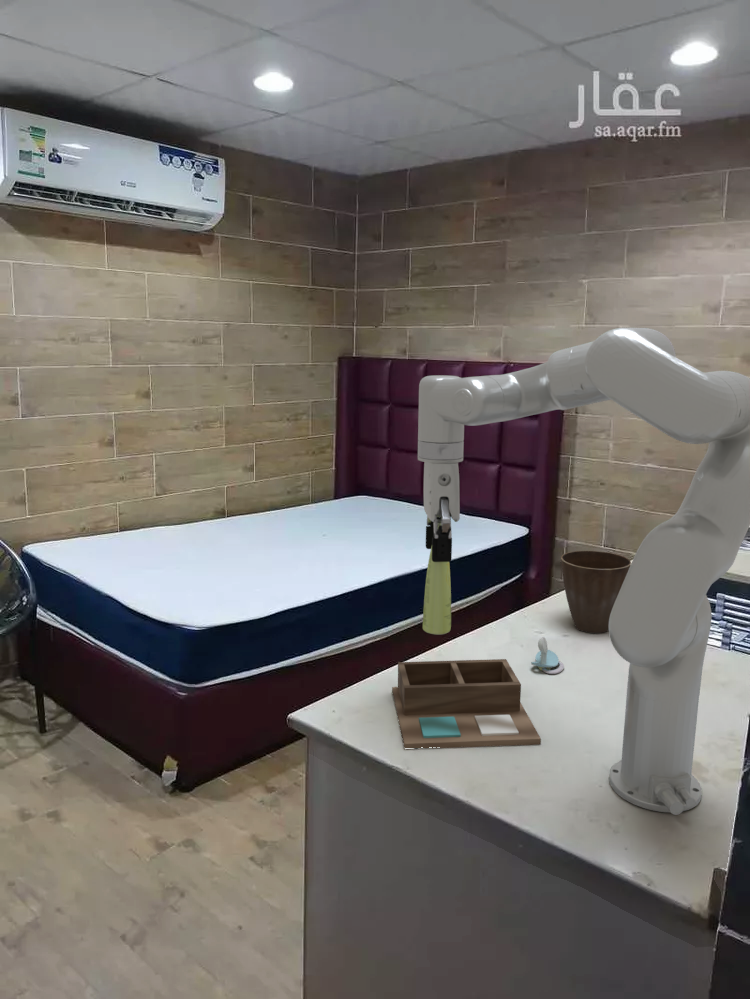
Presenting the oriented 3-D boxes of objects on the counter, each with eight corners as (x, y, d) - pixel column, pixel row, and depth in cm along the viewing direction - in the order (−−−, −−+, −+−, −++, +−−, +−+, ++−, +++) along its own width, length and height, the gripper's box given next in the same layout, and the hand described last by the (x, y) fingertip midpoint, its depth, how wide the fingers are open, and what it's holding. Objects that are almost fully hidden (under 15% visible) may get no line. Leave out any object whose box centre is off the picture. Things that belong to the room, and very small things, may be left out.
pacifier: (567, 664, 153) (537, 658, 156) (569, 635, 152) (539, 629, 154) (559, 679, 147) (528, 672, 149) (562, 649, 145) (530, 642, 148)
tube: (459, 632, 132) (462, 522, 128) (435, 638, 129) (438, 526, 125) (439, 622, 136) (441, 516, 132) (416, 628, 134) (418, 519, 130)
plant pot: (544, 626, 173) (547, 558, 169) (580, 610, 183) (584, 546, 179) (602, 645, 162) (607, 573, 159) (638, 628, 172) (643, 559, 169)
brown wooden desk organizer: (540, 744, 123) (542, 710, 121) (404, 749, 121) (404, 714, 120) (509, 688, 142) (511, 658, 141) (392, 692, 140) (392, 661, 139)
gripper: (473, 459, 118) (469, 569, 122) (454, 443, 135) (451, 541, 139) (424, 459, 117) (422, 570, 121) (412, 443, 134) (410, 541, 138)
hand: (438, 554), depth 130 cm, fingers closed on tube, 7 cm apart
